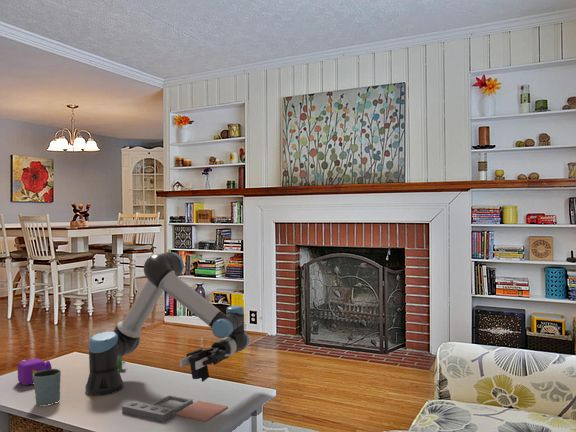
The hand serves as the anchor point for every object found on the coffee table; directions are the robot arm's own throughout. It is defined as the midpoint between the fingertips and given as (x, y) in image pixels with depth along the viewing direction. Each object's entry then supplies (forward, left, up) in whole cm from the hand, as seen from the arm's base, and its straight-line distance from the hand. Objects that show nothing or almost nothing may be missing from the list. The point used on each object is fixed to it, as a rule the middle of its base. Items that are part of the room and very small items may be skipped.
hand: (188, 364), depth 181 cm
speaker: (+1, +5, -7) cm, 8 cm away
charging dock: (-15, +1, -19) cm, 24 cm away
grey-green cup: (-61, -13, -19) cm, 65 cm away
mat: (+2, +5, -19) cm, 19 cm away
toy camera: (-89, +2, -19) cm, 91 cm away
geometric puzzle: (-66, +29, -19) cm, 74 cm away
